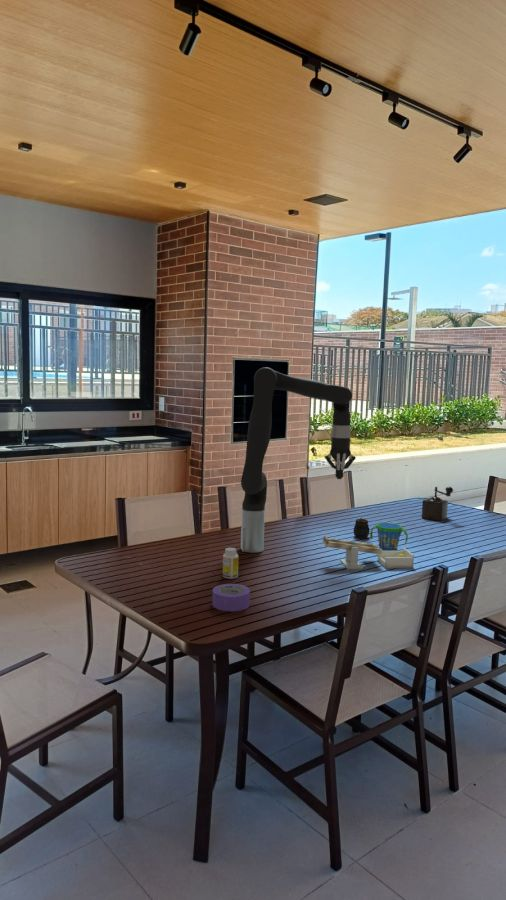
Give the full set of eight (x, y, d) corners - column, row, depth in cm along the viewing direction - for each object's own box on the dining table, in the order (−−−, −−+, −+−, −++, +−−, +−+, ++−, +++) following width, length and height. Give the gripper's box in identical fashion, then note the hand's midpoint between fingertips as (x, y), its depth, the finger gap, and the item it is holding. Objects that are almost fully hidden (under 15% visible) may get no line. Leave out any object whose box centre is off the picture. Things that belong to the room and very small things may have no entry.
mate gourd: (368, 535, 297) (369, 514, 295) (369, 539, 289) (371, 518, 288) (352, 534, 297) (353, 513, 296) (353, 539, 290) (354, 517, 288)
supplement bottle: (237, 574, 234) (238, 546, 233) (238, 579, 229) (239, 551, 228) (222, 574, 234) (222, 546, 233) (222, 579, 228) (223, 551, 227)
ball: (405, 564, 251) (398, 562, 250) (403, 561, 254) (395, 559, 253) (408, 556, 250) (400, 554, 250) (405, 554, 254) (397, 552, 253)
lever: (326, 546, 245) (327, 539, 244) (319, 538, 256) (320, 531, 256) (381, 554, 248) (382, 547, 247) (372, 546, 259) (373, 539, 259)
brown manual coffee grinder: (420, 518, 336) (422, 484, 334) (428, 514, 345) (430, 481, 343) (449, 522, 327) (451, 487, 325) (457, 519, 336) (459, 485, 333)
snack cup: (409, 549, 275) (411, 525, 274) (402, 554, 266) (403, 530, 265) (374, 543, 282) (375, 520, 281) (366, 548, 273) (367, 525, 272)
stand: (347, 569, 244) (348, 548, 243) (340, 560, 255) (341, 540, 254) (362, 568, 245) (363, 548, 244) (355, 560, 256) (355, 540, 255)
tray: (385, 568, 246) (386, 555, 246) (377, 560, 256) (378, 548, 256) (413, 567, 248) (413, 555, 247) (404, 560, 257) (404, 548, 257)
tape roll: (240, 614, 196) (241, 598, 195) (206, 608, 200) (206, 592, 200) (255, 601, 207) (255, 586, 206) (221, 596, 211) (222, 581, 211)
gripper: (326, 437, 255) (325, 480, 257) (359, 437, 257) (357, 480, 259) (322, 435, 263) (321, 477, 265) (354, 435, 264) (352, 477, 266)
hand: (339, 478), depth 262 cm, fingers closed
